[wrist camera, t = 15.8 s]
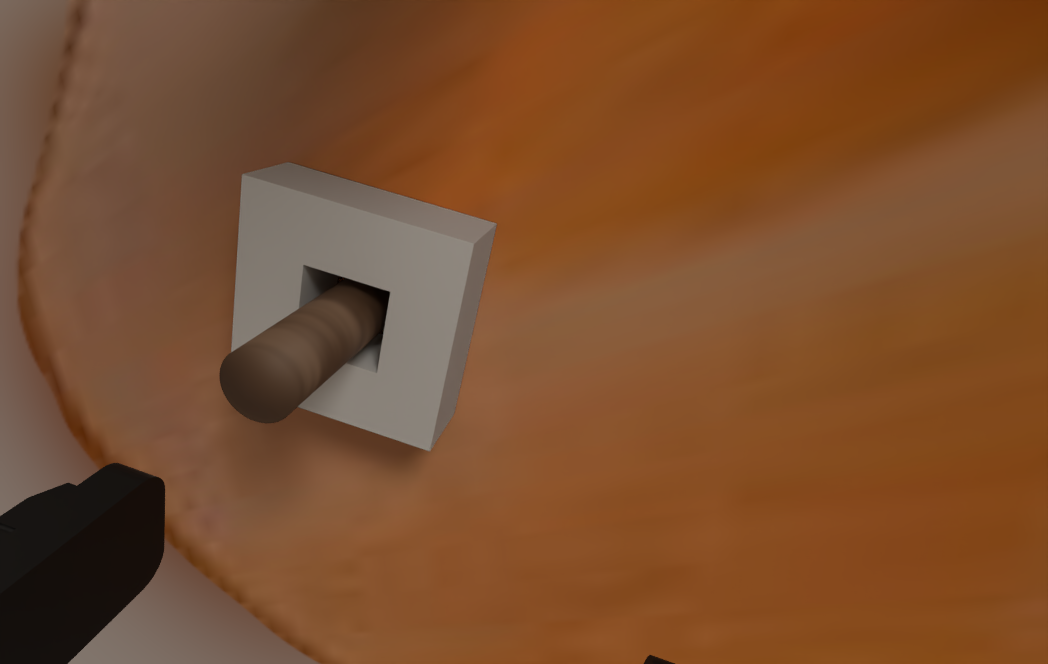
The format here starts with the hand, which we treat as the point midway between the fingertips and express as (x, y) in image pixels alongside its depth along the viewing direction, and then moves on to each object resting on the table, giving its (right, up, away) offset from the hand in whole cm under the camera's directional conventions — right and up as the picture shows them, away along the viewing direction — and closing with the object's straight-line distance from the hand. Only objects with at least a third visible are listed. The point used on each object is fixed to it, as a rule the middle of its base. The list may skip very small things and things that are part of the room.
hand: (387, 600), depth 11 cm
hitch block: (-8, +7, +35) cm, 36 cm away
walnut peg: (-8, +7, +35) cm, 36 cm away
